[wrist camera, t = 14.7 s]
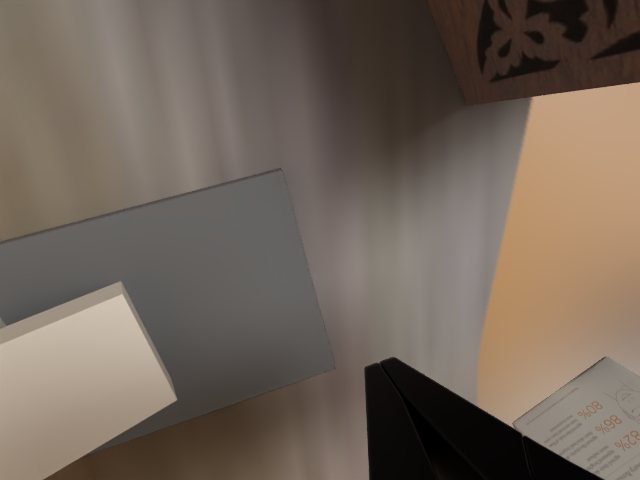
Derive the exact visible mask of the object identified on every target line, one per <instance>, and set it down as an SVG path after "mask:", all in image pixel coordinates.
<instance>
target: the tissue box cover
mask: <svg viewBox="0 0 640 480" xmlns="http://www.w3.org/2000/svg"><path fill="white" fill-rule="evenodd" d="M427 2H428V5H429V7H430V10H431V12H432V15H433V18H434V20H435V23H436V25H437V28H438V30H439V33H440V36H441V38H442V41H443V43H444V46H445V48H446V51H447V54H448V56H449V59H450V61H451V64H452V66H453V69H454V72H455V74H456V77H457V79H458V82H459V84H460V87H461V90H462V92H463V95H464V97H465V100H466V102H467V105H474V104H482V103H489V102H496V101H504V100H511V99H519V98H526V97H533V96H541V95H547V94H555V93H563V92H570V91H577V90H584V89H592V88H600V87H607V86H615V85H622V84H629V83H637V82H640V0H427Z"/></svg>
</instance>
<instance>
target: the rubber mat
mask: <svg viewBox="0 0 640 480" xmlns="http://www.w3.org/2000/svg"><path fill="white" fill-rule="evenodd" d="M119 281H121V282H122V284H123V286H124V288H125V290H126V292H127V293H128V295H129V297H130V299H131V301H132V303H133V305H134V307H135V309H136V311H137V313H138V315H139V317H140V319H141V321H142V323H143V325H144V327H145V329H146V331H147V333H148V335H149V337H150V338H151V340H152V342H153V344H154V346H155V348H156V350H157V352H158V354H159V356H160V358H161V360H162V362H163V364H164V366H165V368H166V370H167V372H168V374H169V376H170V378H171V380H172V384H173V387H174V390H175V394H176V397H177V400H176V401H175V402H173V403H171V404H170V405H168V406H166V407H165V408H163V409H161V410H160V411H158V412H156V413H155V414H153V415H151V416H150V417H148V418H146V419H144V420H143V421H141V422H139V423H138V424H136V425H134V426H133V427H131V428H129V429H128V430H126V431H124V432H123V433H121V434H119V435H118V436H116V437H114V438H112V439H111V440H109V441H107V442H106V443H104V444H102V445H101V446H99V447H97V448H96V449H94V450H92V451H91V452H89V453H87V454H86V455H84V456H87V455H90V454H93V453H96V452H99V451H101V450H104V449H107V448H110V447H113V446H116V445H119V444H121V443H124V442H127V441H130V440H133V439H136V438H139V437H141V436H144V435H147V434H150V433H153V432H156V431H159V430H161V429H164V428H167V427H170V426H173V425H176V424H179V423H181V422H184V421H187V420H190V419H193V418H196V417H199V416H201V415H204V414H207V413H210V412H213V411H216V410H219V409H221V408H224V407H227V406H230V405H233V404H236V403H239V402H241V401H244V400H247V399H250V398H253V397H256V396H259V395H261V394H264V393H267V392H270V391H273V390H276V389H279V388H281V387H284V386H287V385H290V384H293V383H296V382H299V381H301V380H304V379H307V378H310V377H313V376H316V375H319V374H321V373H324V372H327V371H330V370H333V369H336V367H335V363H334V360H333V356H332V352H331V349H330V345H329V341H328V337H327V334H326V330H325V326H324V323H323V319H322V315H321V311H320V308H319V304H318V300H317V297H316V293H315V289H314V285H313V282H312V278H311V274H310V271H309V267H308V263H307V259H306V256H305V252H304V248H303V244H302V241H301V237H300V233H299V230H298V226H297V222H296V218H295V215H294V211H293V207H292V204H291V200H290V196H289V192H288V189H287V185H286V181H285V178H284V174H283V170H282V169H281V168H279V169H276V170H272V171H268V172H264V173H260V174H257V175H253V176H249V177H245V178H241V179H237V180H234V181H230V182H226V183H222V184H218V185H215V186H211V187H207V188H203V189H199V190H196V191H192V192H188V193H184V194H180V195H177V196H173V197H169V198H165V199H161V200H158V201H154V202H150V203H146V204H142V205H139V206H135V207H131V208H127V209H123V210H120V211H116V212H112V213H108V214H104V215H101V216H97V217H93V218H89V219H85V220H82V221H78V222H74V223H70V224H66V225H63V226H59V227H55V228H51V229H47V230H43V231H40V232H36V233H32V234H28V235H24V236H21V237H17V238H13V239H9V240H5V241H2V242H0V317H1V319H2V320H3V322H4V323H5V325H6V326H8V325H11V324H13V323H16V322H18V321H21V320H23V319H26V318H29V317H31V316H34V315H36V314H39V313H41V312H44V311H46V310H49V309H51V308H54V307H56V306H59V305H61V304H64V303H66V302H69V301H71V300H74V299H77V298H79V297H82V296H84V295H87V294H89V293H92V292H94V291H97V290H99V289H102V288H104V287H107V286H109V285H112V284H114V283H117V282H119ZM84 456H82V457H84ZM80 458H81V457H80Z"/></svg>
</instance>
